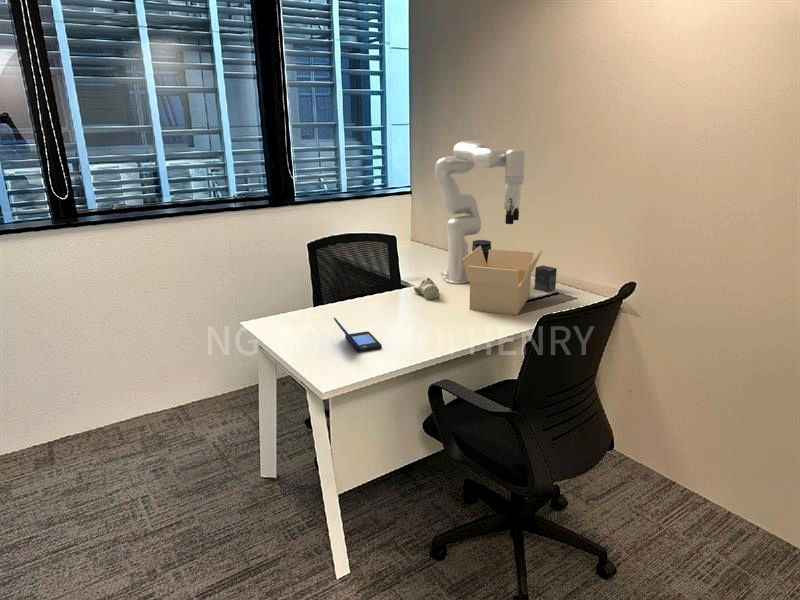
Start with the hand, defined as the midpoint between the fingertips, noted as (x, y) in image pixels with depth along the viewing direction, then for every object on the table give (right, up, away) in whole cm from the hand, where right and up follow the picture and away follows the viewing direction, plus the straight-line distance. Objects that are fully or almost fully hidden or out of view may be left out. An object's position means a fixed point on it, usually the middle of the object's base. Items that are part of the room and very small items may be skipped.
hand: (512, 222), depth 223 cm
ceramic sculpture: (-34, -31, +18) cm, 50 cm away
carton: (-5, -34, +7) cm, 35 cm away
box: (+20, -28, +23) cm, 42 cm away
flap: (+7, -19, -4) cm, 21 cm away
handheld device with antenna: (-62, -49, -33) cm, 86 cm away
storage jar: (-4, -17, +59) cm, 61 cm away
